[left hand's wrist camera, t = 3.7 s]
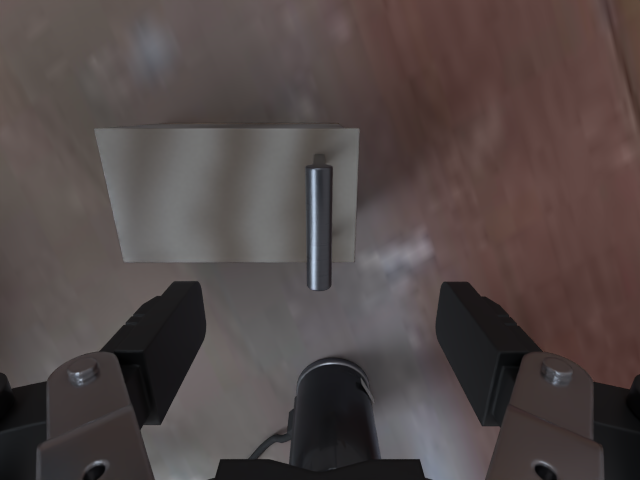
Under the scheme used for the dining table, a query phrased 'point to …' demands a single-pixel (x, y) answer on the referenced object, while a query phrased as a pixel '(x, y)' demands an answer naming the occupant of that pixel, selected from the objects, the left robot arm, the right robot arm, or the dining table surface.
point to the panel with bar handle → (234, 195)
